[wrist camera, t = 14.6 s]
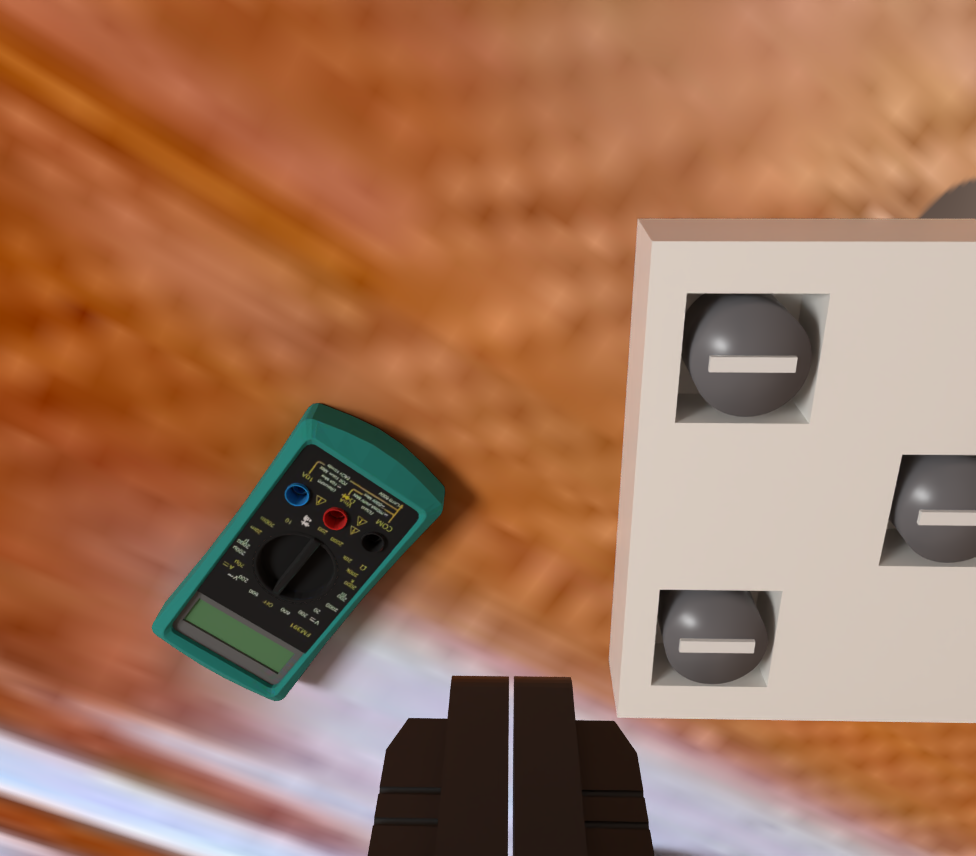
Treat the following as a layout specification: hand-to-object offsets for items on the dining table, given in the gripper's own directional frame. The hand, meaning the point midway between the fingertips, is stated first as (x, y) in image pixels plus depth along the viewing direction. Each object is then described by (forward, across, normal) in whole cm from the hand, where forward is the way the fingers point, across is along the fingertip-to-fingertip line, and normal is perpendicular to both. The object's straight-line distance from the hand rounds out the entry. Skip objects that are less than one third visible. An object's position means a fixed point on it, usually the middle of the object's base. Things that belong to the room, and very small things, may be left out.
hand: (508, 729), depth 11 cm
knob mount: (+27, -14, +10) cm, 32 cm away
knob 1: (+26, -9, +3) cm, 28 cm away
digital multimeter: (+28, +10, +15) cm, 33 cm away
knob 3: (+26, -18, +10) cm, 33 cm away
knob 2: (+26, -9, +16) cm, 32 cm away
